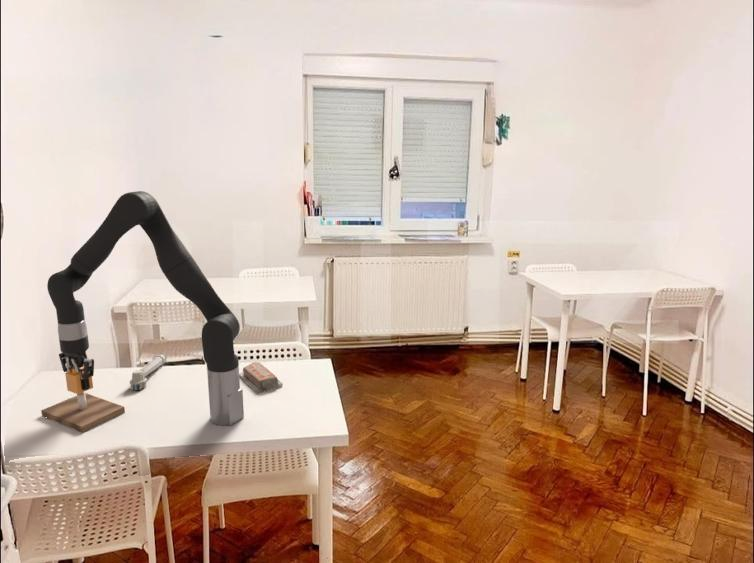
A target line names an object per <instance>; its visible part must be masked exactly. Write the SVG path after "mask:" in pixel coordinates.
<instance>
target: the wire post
mask: <svg viewBox="0 0 754 563" xmlns="http://www.w3.org/2000/svg"><path fill="white" fill-rule="evenodd" d="M85 393H86V391H84V392H82V393H80V394H76V396H77V398H78V405H79V410H85V409H87V403H86V396H85Z"/></svg>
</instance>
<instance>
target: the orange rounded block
mask: <svg viewBox="0 0 754 563" xmlns="http://www.w3.org/2000/svg"><path fill="white" fill-rule="evenodd" d="M82 368H84V366H83V367H81V368H79V369H82ZM82 373H83V375H84V371H82ZM89 373H90V371H89ZM64 375H65V382H66V388H67V390H66V391H67V392H71V393H73V394H76V395H77V394H80V393H82V392H87V391H89V390H91V389H94V384H93V376H92V377H89V384H90V388H89V389H87V390H82V387H81V380H80V375H79V373H77V372H76V370H75V367H73V368H72V371H70V372H64Z"/></svg>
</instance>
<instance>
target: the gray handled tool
mask: <svg viewBox="0 0 754 563" xmlns="http://www.w3.org/2000/svg"><path fill="white" fill-rule="evenodd" d="M166 362H167V356H166V355H165V354H164V353H160V354H158V355H157V354H156V355H154V356H153V357H152V359H151V360H150V361H148V363H146V364H145V365H144V366H142V368H140V369H139V370H135V371H134V370H133V371H132V374H131V375H132V376H131V379H130V380H129V384H130V389H131V390H132V391H141V390H142V389H146V388H147V382H148V378H147V377H146V376H148V375H149V374H151V373H152V372H154V371H155V370H157V369H158V368H160V367H162V366H163V365H164V364H165V363H166Z"/></svg>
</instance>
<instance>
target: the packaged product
mask: <svg viewBox="0 0 754 563" xmlns="http://www.w3.org/2000/svg"><path fill="white" fill-rule="evenodd" d="M239 378H241V379H242V380H243V382H245V383H246V384H247V385H248V386H249V387H250V388H251V389H252V390H253V391H254V392H255V393H256V394H261V393H264V391H265V392H268V391H267V390H269V391H271V389H272V390H275V389H274V388H276V389H279V388H278V387H280V388H283V387H282V386H283V382H282V381H280V380H279V379H278V377H277V376H276V375H275V374H274V373H272V371H270V370H269V369H268V368H267V367H265V366H264V365H263V364H262V363H261V362H257V361H256V362H255V361H254V362H252V363H250V364H248V365H246V366H244V367H243V368H242V372H239Z"/></svg>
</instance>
